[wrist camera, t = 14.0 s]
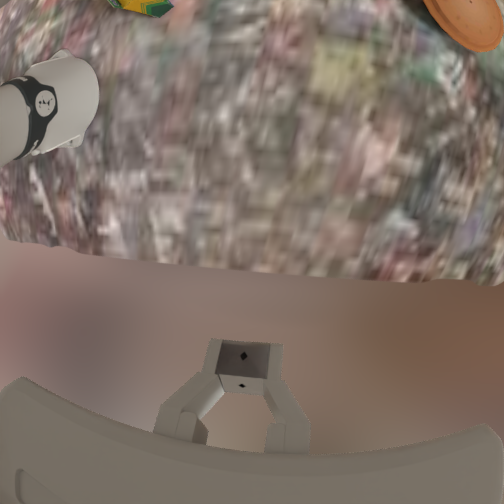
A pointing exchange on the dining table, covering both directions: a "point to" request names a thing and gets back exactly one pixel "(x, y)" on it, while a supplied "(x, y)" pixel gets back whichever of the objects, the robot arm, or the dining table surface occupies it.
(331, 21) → the dining table surface
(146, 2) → the crayon box
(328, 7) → the dining table surface
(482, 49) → the pie
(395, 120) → the dining table surface
